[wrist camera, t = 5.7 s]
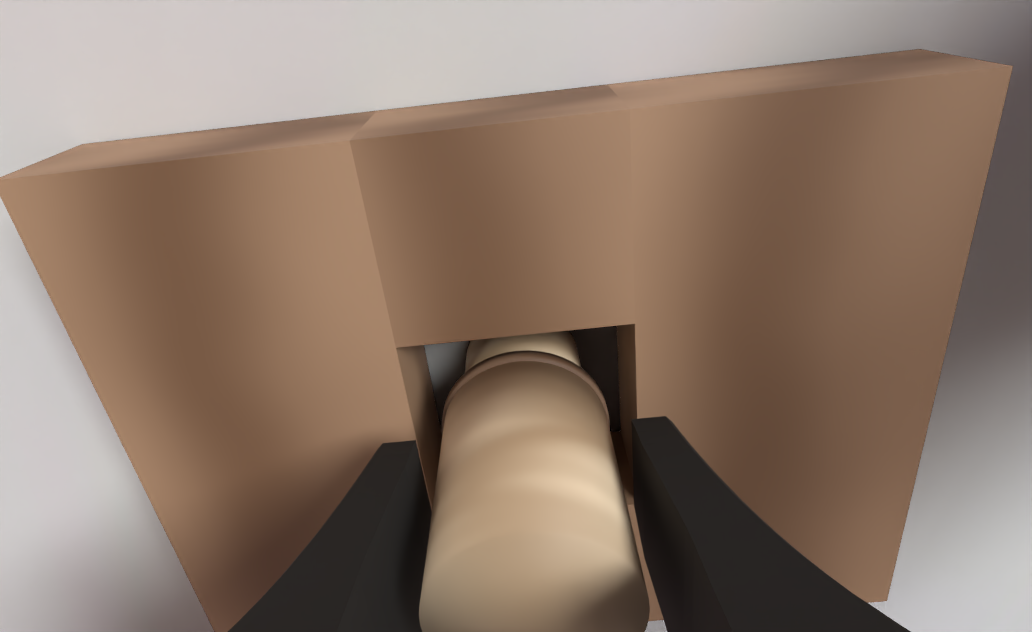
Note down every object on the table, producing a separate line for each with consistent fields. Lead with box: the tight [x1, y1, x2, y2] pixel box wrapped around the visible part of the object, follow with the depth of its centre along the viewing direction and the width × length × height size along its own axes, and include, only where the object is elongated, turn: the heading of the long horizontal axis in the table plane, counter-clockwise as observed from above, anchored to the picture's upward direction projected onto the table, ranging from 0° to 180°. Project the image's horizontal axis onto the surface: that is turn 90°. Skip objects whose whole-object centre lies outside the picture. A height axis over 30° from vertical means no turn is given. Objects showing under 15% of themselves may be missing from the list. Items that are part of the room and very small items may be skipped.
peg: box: [419, 331, 650, 632], centre depth 12 cm, size 3×3×7 cm
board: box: [0, 49, 1013, 632], centre depth 14 cm, size 16×12×2 cm
